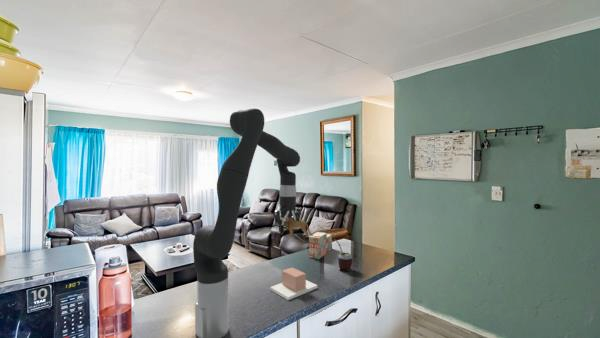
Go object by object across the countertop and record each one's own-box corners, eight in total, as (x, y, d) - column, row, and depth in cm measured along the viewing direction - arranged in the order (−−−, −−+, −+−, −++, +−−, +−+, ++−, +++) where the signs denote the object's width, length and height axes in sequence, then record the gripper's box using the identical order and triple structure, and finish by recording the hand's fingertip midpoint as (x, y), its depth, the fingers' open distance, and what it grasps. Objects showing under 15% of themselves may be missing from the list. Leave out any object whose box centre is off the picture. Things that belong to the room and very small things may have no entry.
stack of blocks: (323, 247, 172) (323, 228, 171) (332, 249, 169) (332, 229, 169) (308, 257, 153) (308, 236, 152) (318, 259, 150) (318, 237, 150)
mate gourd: (355, 272, 131) (354, 241, 131) (340, 273, 129) (340, 243, 129) (348, 266, 139) (348, 237, 138) (334, 268, 136) (333, 239, 136)
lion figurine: (279, 235, 118) (279, 215, 118) (283, 233, 124) (283, 213, 124) (311, 238, 115) (312, 217, 115) (314, 235, 120) (314, 215, 120)
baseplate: (288, 300, 104) (288, 297, 104) (270, 289, 113) (270, 287, 113) (317, 288, 114) (317, 285, 114) (299, 279, 123) (299, 276, 123)
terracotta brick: (295, 291, 108) (295, 277, 108) (282, 284, 115) (282, 270, 115) (305, 287, 112) (305, 273, 112) (292, 280, 119) (292, 267, 119)
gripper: (280, 196, 113) (279, 236, 113) (305, 195, 123) (304, 231, 123) (270, 195, 119) (269, 233, 119) (294, 193, 128) (294, 228, 128)
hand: (287, 232), depth 121 cm, fingers closed on lion figurine, 6 cm apart
